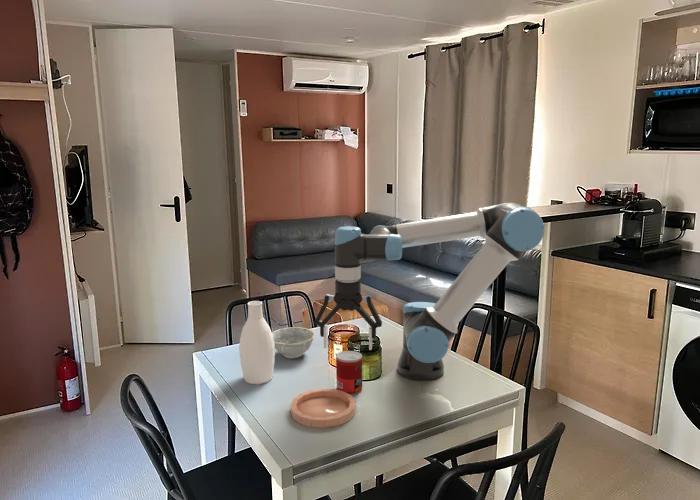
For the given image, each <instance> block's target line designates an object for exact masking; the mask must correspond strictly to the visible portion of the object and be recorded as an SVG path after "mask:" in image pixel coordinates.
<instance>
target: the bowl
mask: <svg viewBox="0 0 700 500" xmlns="http://www.w3.org/2000/svg"><path fill="white" fill-rule="evenodd" d="M271 332H272V335H273V339H274V344H275V347H274V350H276V352H278V354H281V355H282V356H283V357H284V358H288V359H296V358H297V359H298V358H300V357H302V356H303V355H304V353H306V352H307V351H308V350H309V349H310V347H311V345H312V343H313V341H314V338H315V331H313V330H312V329H310V328H306V327H298V326H292V327H291V326H290V327H283V328H279V329H277V330H274V331H271Z"/></svg>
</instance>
